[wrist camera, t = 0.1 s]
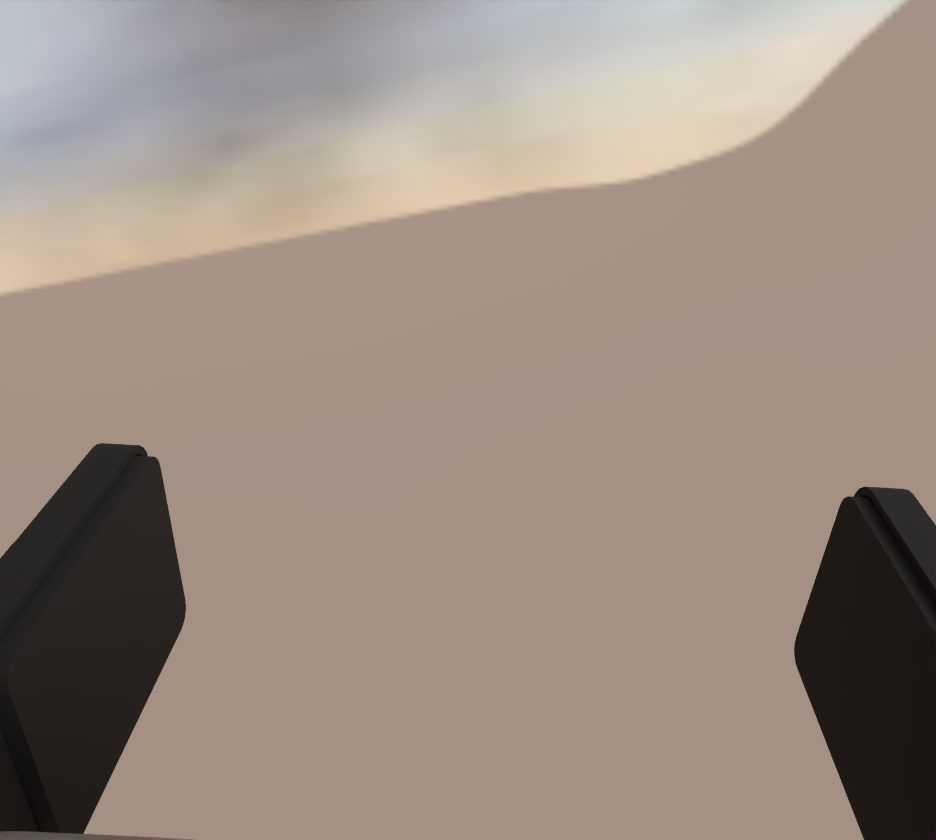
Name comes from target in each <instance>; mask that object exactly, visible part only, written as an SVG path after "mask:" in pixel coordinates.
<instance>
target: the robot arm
mask: <svg viewBox="0 0 936 840" xmlns="http://www.w3.org/2000/svg"><path fill="white" fill-rule="evenodd" d="M185 612H186V604H185V596H184V592H183V585H182V581H181V575H180V569H179V564H178V559H177V554H176V548H175V543H174V537H173V532H172V526H171V521H170V516H169V511H168V505H167V500H166V494H165V489H164V484H163V478H162V473H161V468H160V465H159V462H158V460H157V458H155V457H149V456H148V455H147V452H146V451H145V449H144V448H143V447H141V446H139V445H122V444H104V443H102V444H97V445H96V446H94V447H93V448H92V449H91V450H90V452H89V453H88V454H87V455H86V457H85V458H84V459H83V460H82V461H81V463H80V464H79V465H78V466H77V467H76V469H75V470H74V471H73V472H72V474H71V475H70V476H69V477H68V478H67V480H66V481H65V482H64V483H63V485H62V486H61V487H60V488H59V489H58V490H57V492H56V493H55V494H54V495H53V497H52V498H51V499H50V500H49V501H48V503H47V504H46V505H45V506H44V507H43V509H42V510H41V511H40V512H39V513H38V515H37V516H36V517H35V518H34V520H33V521H32V522H31V523H30V524H29V526H28V527H27V528H26V529H25V530H24V532H23V533H22V534H21V535H20V537H19V538H18V539H17V540H16V541H15V542H14V543H13V544H12V545H11V546H10V548H9V549H8V550H7V551H6V552H5V554H4V555H3V556H2V557H1V558H0V840H191V839H175V838H160V837H138V836H115V835H93V834H83V833H84V831H85V829H86V827H87V825H88V823H89V821H90V818H91V816H92V814H93V812H94V810H95V808H96V806H97V804H98V802H99V800H100V798H101V795H102V793H103V791H104V789H105V787H106V785H107V783H108V781H109V779H110V777H111V775H112V773H113V770H114V768H115V766H116V764H117V762H118V760H119V758H120V756H121V754H122V752H123V750H124V748H125V746H126V744H127V741H128V739H129V737H130V735H131V733H132V731H133V729H134V727H135V725H136V722H137V721H138V719H139V716H140V714H141V712H142V710H143V708H144V706H145V704H146V702H147V700H148V698H149V696H150V694H151V691H152V689H153V687H154V685H155V683H156V681H157V679H158V677H159V675H160V673H161V671H162V669H163V667H164V664H165V662H166V660H167V658H168V656H169V654H170V652H171V650H172V648H173V646H174V644H175V642H176V639H177V637H178V635H179V633H180V631H181V629H182V626H183V623H184V619H185ZM794 650H795V651H794V652H795V662H796V665H797V669H798V671H799V674H800V676H801V679H802V681H803V684H804V687H805V689H806V692H807V694H808V697H809V699H810V702H811V704H812V707H813V710H814V712H815V715H816V717H817V720H818V723H819V725H820V727H821V730H822V733H823V735H824V738H825V740H826V743H827V746H828V748H829V751H830V753H831V756H832V758H833V761H834V763H835V766H836V768H837V771H838V774H839V776H840V779H841V781H842V784H843V786H844V789H845V792H846V794H847V797H848V799H849V802H850V805H851V807H852V809H853V812H854V815H855V817H856V820H857V823H858V825H859V827H860V830H861V833H862V835H863V838H864V840H936V525H935V524H934V522H933V521H932V520H931V518H930V517H929V516H928V514H927V513H926V511H925V510H924V509H923V507H922V506H921V505H920V503H919V502H918V500H917V499H916V497H914V495H913V494H912V493H911V492H910V491H909V490H905V489H895V488H894V489H893V488H877V487H862V488H860V489H859V490H858V491H857V492H856V493H855V495H854V497H846V498H844V499H843V501H842V502H841V505H840V508H839V510H838V513H837V516H836V520H835V522H834V525H833V528H832V531H831V534H830V537H829V540H828V543H827V546H826V549H825V552H824V555H823V558H822V561H821V564H820V568H819V570H818V574H817V576H816V579H815V583H814V585H813V588H812V592H811V594H810V598H809V600H808V604H807V606H806V609H805V612H804V615H803V619H802V622H801V625H800V628H799V630H798V633H797V636H796V641H795V648H794Z"/></svg>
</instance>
